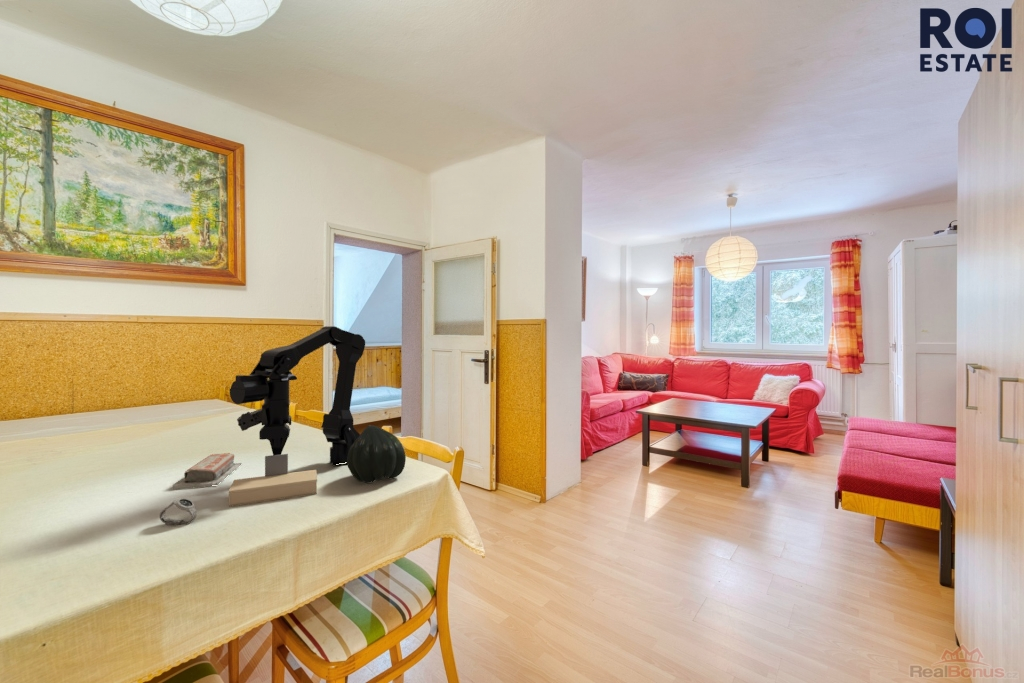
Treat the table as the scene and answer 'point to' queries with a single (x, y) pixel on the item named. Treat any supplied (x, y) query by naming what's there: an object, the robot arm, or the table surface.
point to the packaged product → (208, 471)
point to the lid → (274, 476)
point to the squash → (376, 455)
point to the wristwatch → (181, 504)
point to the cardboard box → (272, 493)
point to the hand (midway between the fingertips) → (276, 458)
